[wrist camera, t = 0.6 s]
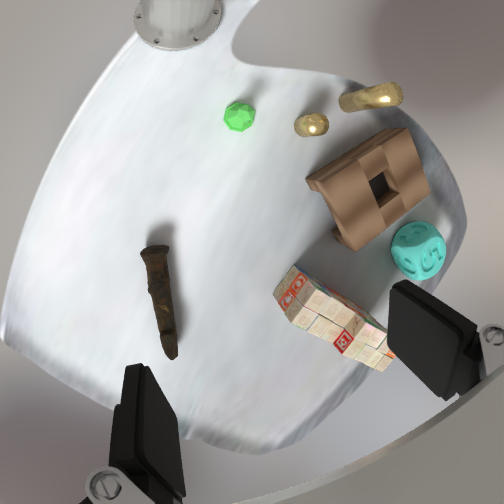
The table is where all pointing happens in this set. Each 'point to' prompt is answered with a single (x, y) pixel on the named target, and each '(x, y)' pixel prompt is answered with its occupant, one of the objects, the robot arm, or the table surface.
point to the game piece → (239, 117)
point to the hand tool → (161, 296)
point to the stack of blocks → (333, 319)
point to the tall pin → (372, 98)
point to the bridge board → (359, 191)
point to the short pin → (311, 125)
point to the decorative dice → (418, 250)
